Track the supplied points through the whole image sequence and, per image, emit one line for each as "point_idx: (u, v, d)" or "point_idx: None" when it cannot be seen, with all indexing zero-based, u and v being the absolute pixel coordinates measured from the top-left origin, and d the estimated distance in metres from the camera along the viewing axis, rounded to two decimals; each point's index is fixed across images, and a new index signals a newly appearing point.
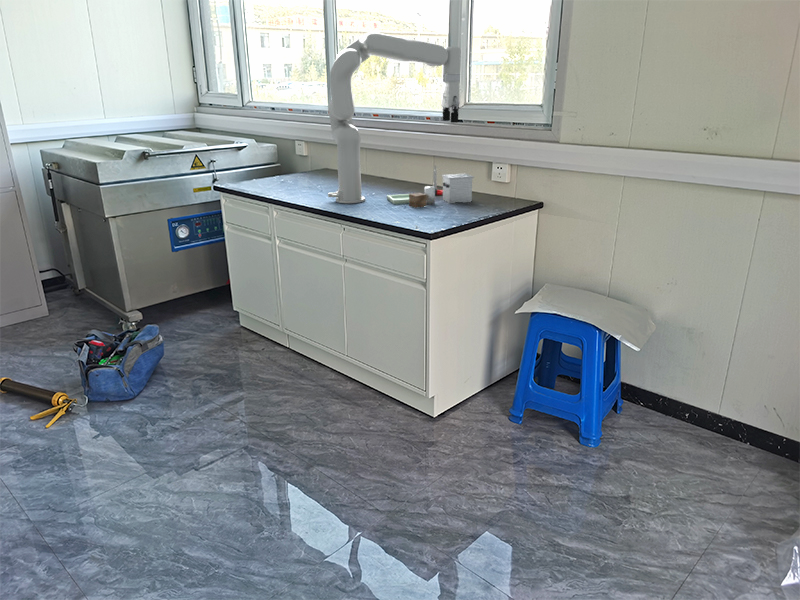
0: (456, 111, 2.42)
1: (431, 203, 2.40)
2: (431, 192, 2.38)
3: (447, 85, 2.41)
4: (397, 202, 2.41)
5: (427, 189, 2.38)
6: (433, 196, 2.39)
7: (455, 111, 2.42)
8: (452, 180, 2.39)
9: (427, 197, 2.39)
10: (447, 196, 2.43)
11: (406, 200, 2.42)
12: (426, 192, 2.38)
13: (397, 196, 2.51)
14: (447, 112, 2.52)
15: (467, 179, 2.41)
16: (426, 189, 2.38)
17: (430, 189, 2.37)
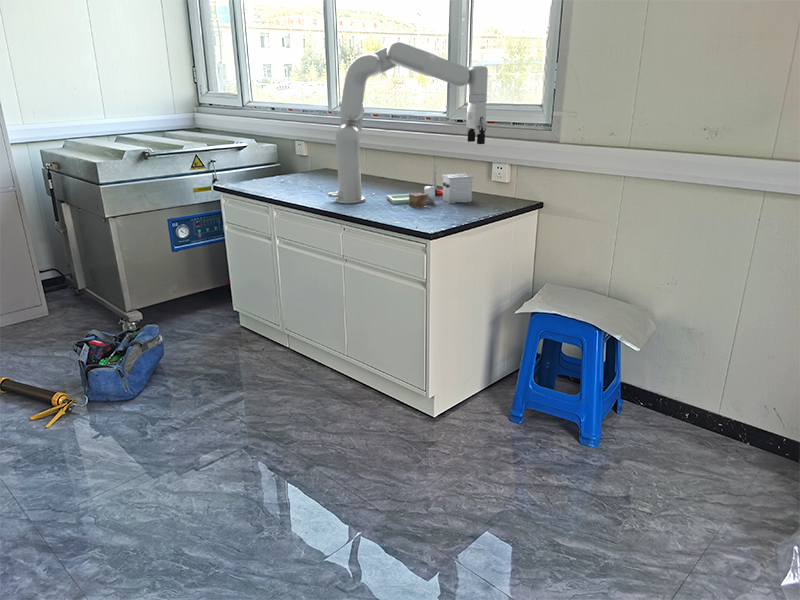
0: (483, 132, 2.33)
1: (431, 203, 2.40)
2: (431, 192, 2.38)
3: (474, 106, 2.31)
4: (397, 202, 2.41)
5: (427, 189, 2.38)
6: (433, 196, 2.39)
7: (482, 133, 2.33)
8: (452, 180, 2.39)
9: (427, 197, 2.39)
10: (447, 196, 2.43)
11: (406, 200, 2.42)
12: (426, 192, 2.38)
13: (397, 196, 2.51)
14: (472, 133, 2.43)
15: (467, 179, 2.41)
16: (426, 189, 2.38)
17: (430, 189, 2.37)
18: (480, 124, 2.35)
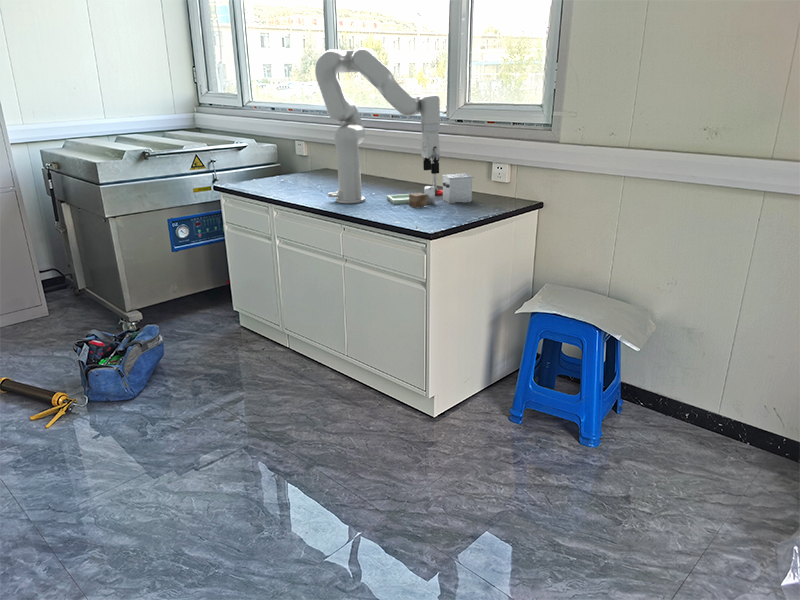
0: (436, 162, 2.30)
1: (431, 203, 2.40)
2: (431, 192, 2.38)
3: (427, 135, 2.28)
4: (397, 202, 2.41)
5: (427, 189, 2.38)
6: (433, 196, 2.39)
7: (435, 162, 2.30)
8: (452, 180, 2.39)
9: (427, 197, 2.39)
10: (447, 196, 2.43)
11: (406, 200, 2.42)
12: (426, 192, 2.38)
13: (397, 196, 2.51)
14: (428, 161, 2.40)
15: (467, 179, 2.41)
16: (426, 189, 2.38)
17: (430, 189, 2.37)
18: (434, 153, 2.31)
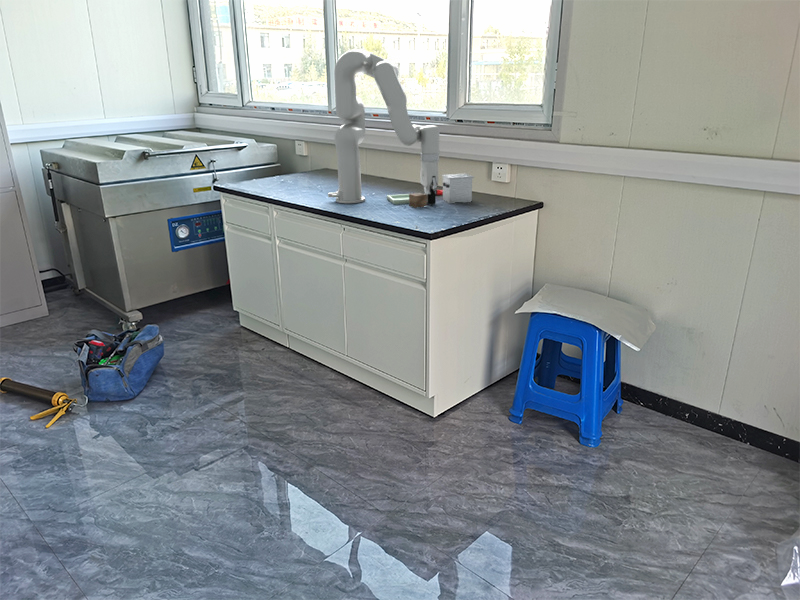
0: (433, 194, 2.37)
1: None
2: None
3: (426, 165, 2.32)
4: (397, 202, 2.41)
5: (427, 189, 2.38)
6: None
7: (432, 193, 2.36)
8: (452, 180, 2.39)
9: (427, 197, 2.39)
10: (447, 196, 2.43)
11: (406, 200, 2.42)
12: (426, 192, 2.38)
13: (397, 196, 2.51)
14: None
15: (467, 179, 2.41)
16: (426, 189, 2.38)
17: None
18: (432, 183, 2.36)
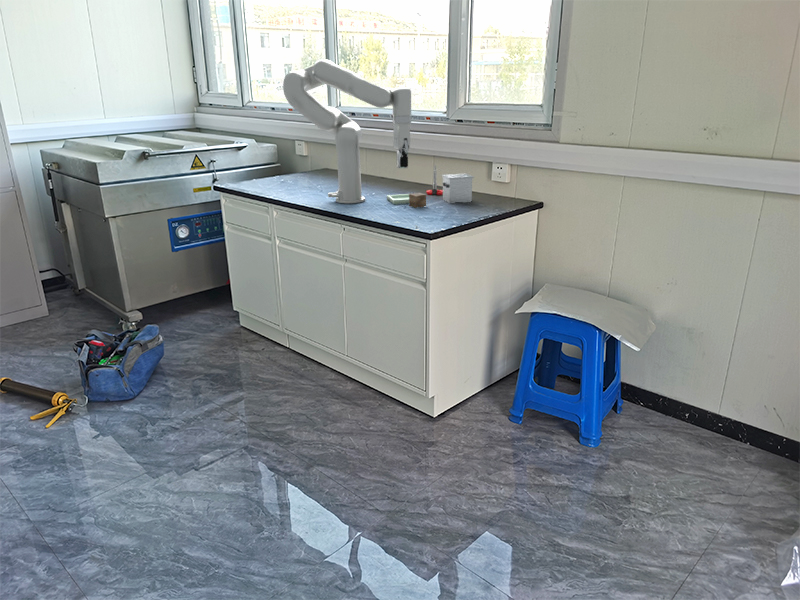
0: (405, 156, 2.37)
1: None
2: None
3: (398, 127, 2.33)
4: (397, 202, 2.41)
5: (399, 152, 2.38)
6: None
7: (404, 156, 2.37)
8: (452, 180, 2.39)
9: None
10: (447, 196, 2.43)
11: (406, 200, 2.42)
12: (398, 155, 2.39)
13: (397, 196, 2.51)
14: None
15: (467, 179, 2.41)
16: (398, 152, 2.39)
17: None
18: None
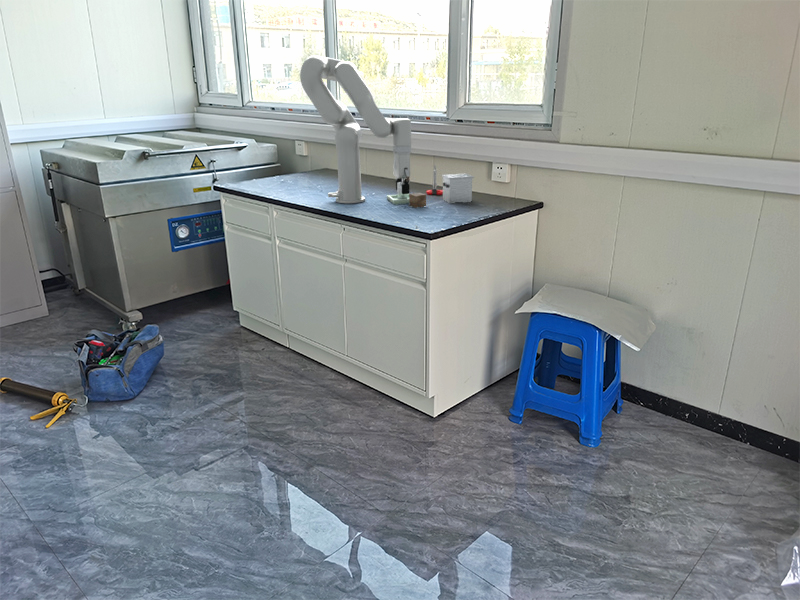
0: (407, 183, 2.40)
1: (404, 198, 2.45)
2: None
3: (398, 157, 2.37)
4: (397, 202, 2.41)
5: (400, 184, 2.43)
6: None
7: (406, 183, 2.39)
8: (452, 180, 2.39)
9: (400, 192, 2.44)
10: (447, 196, 2.43)
11: (406, 200, 2.42)
12: (399, 187, 2.44)
13: None
14: None
15: (467, 179, 2.41)
16: (399, 184, 2.44)
17: None
18: (405, 174, 2.41)
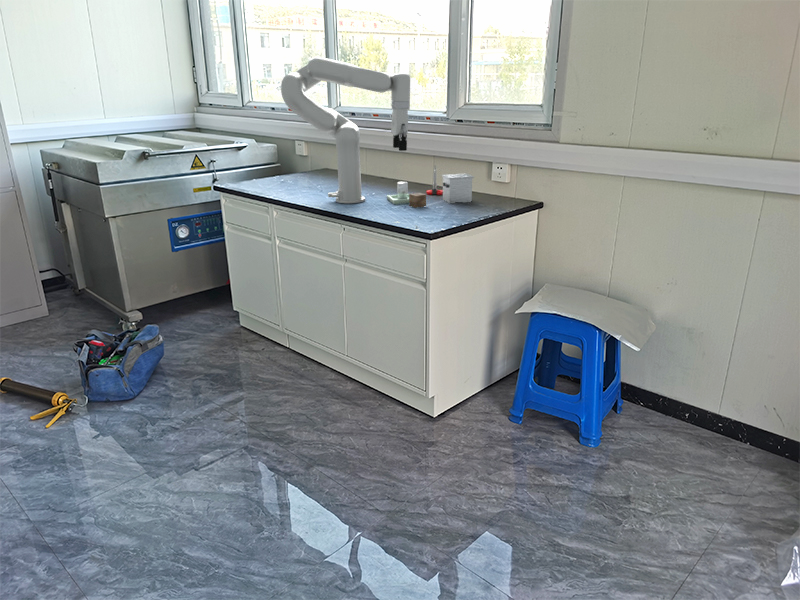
0: (404, 139, 2.35)
1: (404, 198, 2.45)
2: (403, 188, 2.43)
3: (396, 112, 2.33)
4: (397, 202, 2.41)
5: (400, 185, 2.43)
6: (405, 191, 2.44)
7: (403, 139, 2.34)
8: (452, 180, 2.39)
9: (400, 192, 2.44)
10: (447, 196, 2.43)
11: (406, 200, 2.42)
12: (399, 188, 2.44)
13: None
14: (398, 139, 2.45)
15: (467, 179, 2.41)
16: (399, 185, 2.43)
17: (402, 184, 2.43)
18: (402, 131, 2.36)
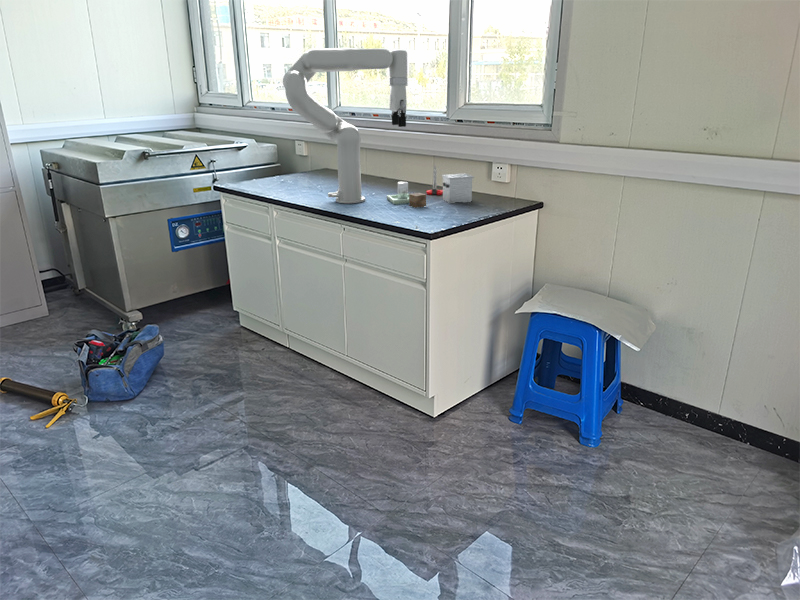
0: (403, 115, 2.37)
1: (404, 198, 2.45)
2: (403, 188, 2.44)
3: (394, 89, 2.35)
4: (397, 202, 2.41)
5: (400, 184, 2.43)
6: (405, 191, 2.44)
7: (402, 115, 2.37)
8: (452, 180, 2.39)
9: (400, 192, 2.44)
10: (447, 196, 2.43)
11: (406, 200, 2.42)
12: (399, 187, 2.44)
13: (397, 196, 2.51)
14: (396, 116, 2.47)
15: (467, 179, 2.41)
16: (399, 184, 2.44)
17: (402, 184, 2.43)
18: (401, 107, 2.38)
